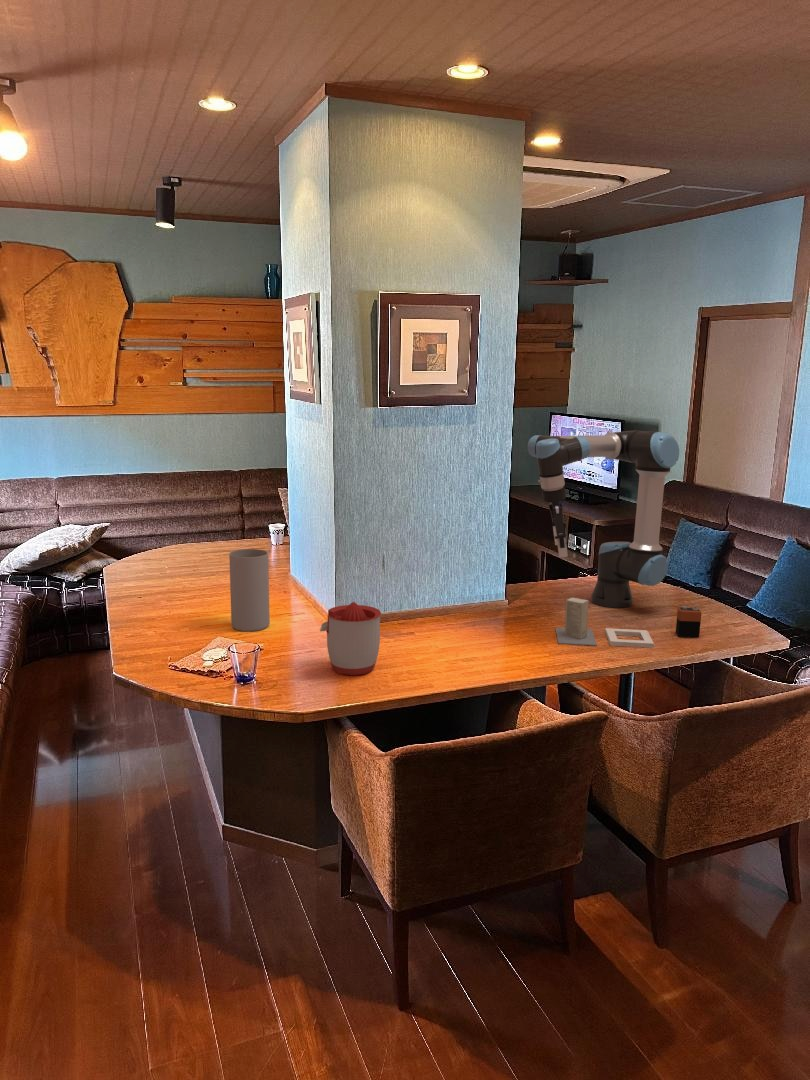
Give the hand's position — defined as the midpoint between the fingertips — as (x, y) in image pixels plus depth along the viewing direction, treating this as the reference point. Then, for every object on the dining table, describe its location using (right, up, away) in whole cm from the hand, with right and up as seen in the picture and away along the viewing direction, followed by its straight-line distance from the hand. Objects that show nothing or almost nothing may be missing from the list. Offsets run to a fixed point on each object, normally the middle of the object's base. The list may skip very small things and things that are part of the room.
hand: (561, 550), depth 265 cm
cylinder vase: (-103, -25, +5) cm, 106 cm away
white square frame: (+21, -29, -2) cm, 36 cm away
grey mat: (+5, -28, 0) cm, 29 cm away
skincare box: (+4, -28, 0) cm, 28 cm away
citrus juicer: (-67, -34, -31) cm, 81 cm away
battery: (+42, -28, +3) cm, 51 cm away
